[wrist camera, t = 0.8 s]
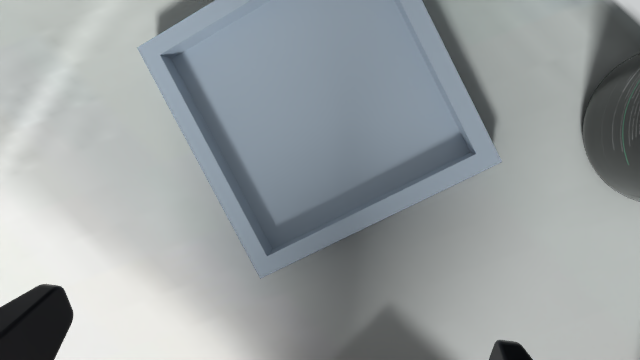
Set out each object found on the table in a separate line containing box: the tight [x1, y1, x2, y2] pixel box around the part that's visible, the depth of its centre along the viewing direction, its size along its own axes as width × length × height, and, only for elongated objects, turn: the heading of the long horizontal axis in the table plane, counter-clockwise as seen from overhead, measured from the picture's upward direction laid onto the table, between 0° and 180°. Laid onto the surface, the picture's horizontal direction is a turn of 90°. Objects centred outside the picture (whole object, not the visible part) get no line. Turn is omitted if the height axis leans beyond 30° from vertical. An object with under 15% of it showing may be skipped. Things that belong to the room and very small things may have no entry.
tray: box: [137, 0, 502, 279], centre depth 21 cm, size 12×12×2 cm
